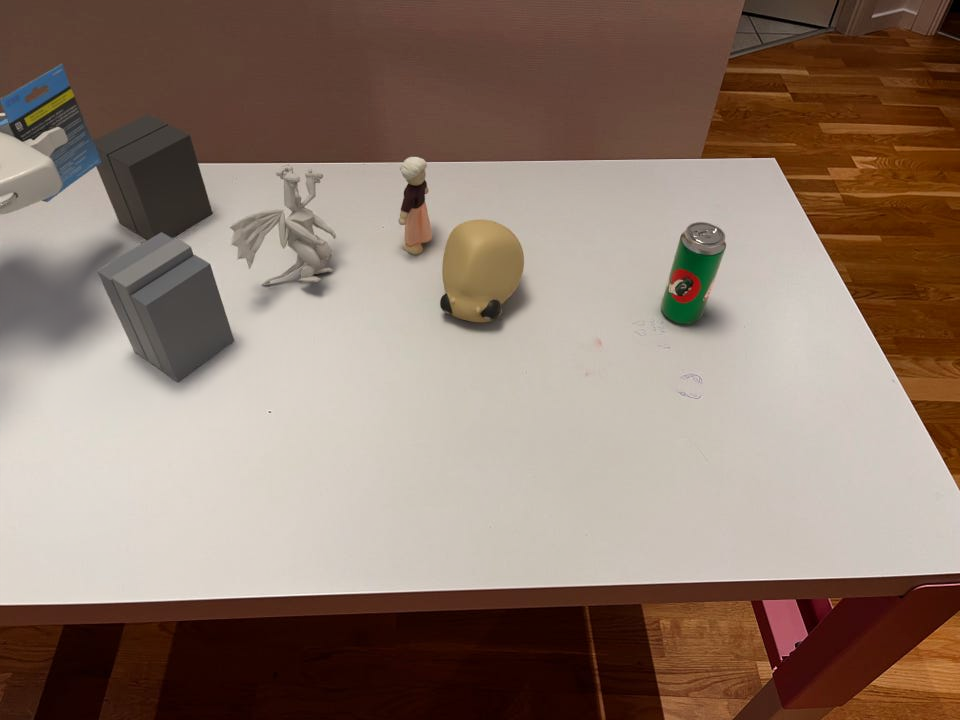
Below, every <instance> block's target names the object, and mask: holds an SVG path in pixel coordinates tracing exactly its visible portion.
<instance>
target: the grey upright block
mask: <svg viewBox="0 0 960 720" xmlns="http://www.w3.org/2000/svg"><path fill="white" fill-rule="evenodd" d="M96 273H97V275H98V276H99V279H100V281H101V283H102V286H103V288H104V290H105V292H106V294H107V296H108V299H109V300H110V302H111V305H112V307H113V309H114V311H115V313H116V315H117V318H118V320H119V323H120V324H121V326H122V329H123V330H124V332H125V335H126V337H127V339H128V342H129V344H130V346H131V348H132V350H133V352H134V353H136V355H139V356H140V357H142V358H143V359H144V360H146V361H147V362H149V363H150V364H152V365H153V366H154V367H156V368H157V369H159V370H160V371H161V372H163V373H164V374H166V375H167V376H169V377H170V378H172V380H174V381H176V382H177V383H179V382H181V380H183V379H185V377H187V376H189V375H190V374H191V373H192V372H194V371H195V370H197V369H198V368H200V367H201V366H202V365H203V364H205V363H206V362H207V361H208V360H210V359H211V358H213V357H214V356H216V355H217V354H218V353H220V352H221V351H222V350H224V349H225V348H226V347H227V346H229V345H230V344H232V343H233V342H234V341H235V338H234V335H233V332H232V329H231V326H230V323H229V319H228V316H227V313H226V310H225V306H224V304H223V300H222V298H221V294H220V291H219V288H218V284H217V281H216V278H215V275H214V271H213V269H212V266H211V263H209V262H208V261H206V260H205V259H203V258H201V257H200V256H198V255H196V254H194V252H193V249H192V246H191V245H189V244H187V243H186V242H184V241H182V240H180V239H179V238H178V237H174V238H171V237H169V236H167V235H166V234H164V233H162V232H161V233H159V234H158V235H156V236H154V237H153V238H151V239H149V240H146V241H144V242H143V243H141V244H139V245H138V246H136V247H134V248H132V249H130V250H128V251H127V252H126V253H124V254H122V255H120V256H119V257H117V258H116V259H113V260H112V261H110V262H109V263H107V264H105V265H104V266H102V267H100V268H98V269H97V270H96Z"/></svg>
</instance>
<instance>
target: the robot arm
mask: <svg viewBox="0 0 960 720" xmlns="http://www.w3.org/2000/svg"><path fill="white" fill-rule="evenodd" d="M5 119H6V116H5V113H4V112H0V122H2V121H3V120H5ZM40 131H41V133H42V134H41V135H40V136H39V137H37V138H36V139H35V140H32V139H28V140H26V141H24V142H22V141H20V140H18V139H17V138H15V137H13V136H11V135H8V134H5V133H2V132H0V216H2V215H6V214H7V215H8V214H10V213H14V212H16V211H20V210H22V209H24V208H25V209H26V208H28V207H29V206H32V205H34V204H37V203H40V202H43V201H42V200H44V199H47V198H49V197H51V196H53V195H55V194H57V193H58V192H59V191H60V189H61V188H62V186H63V182H62V180H61V177H60V175H59V172H58V170H57V168H56V166H55V164H54V162H53V161H52V159H51V158H49V156H50V155H51V154H52V152H53V151H54V150H55V148H57V147H59V146H61V145H63V144H66V143H67V141H68V138H67V136H66V133H65V131H64V130H63V129H62V128H60V127H58V126H56V125H54V124H51V125H49V126H48V127H45V128H42V129H40Z"/></svg>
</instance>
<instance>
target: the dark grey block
mask: <svg viewBox="0 0 960 720" xmlns="http://www.w3.org/2000/svg"><path fill="white" fill-rule="evenodd" d="M92 140H93V142H94V145H95V147H96V150H97V152H98V155H99V157H100V159H101V163H100V164H99V165H97V166H96V167H95V168H96V170H97V172H98V174H99V177H100V179H101V182H102V184H103V186H104V189H105V192H106V194H107V197H108V199H109V201H110V204H111V206H112V209H113V211H114V213H115V215H116V218H117V221H118V223H119V224H121V225H122V226H124V227H125V228H127V229H129V230H131V231H132V232H134V233H136V234H137V235H139V236H141V237H142V238H144V239H145V240H146V241H148V240H149V239H151V238H153V237H154V236H156V235H158V234H159V233H161V232H162V233H164V234H166V235H167V236H169V237H171V238H172V239H174V238H176V236H179V235H181V233H183V232H185V231H186V230H188V229H190V228H191V227H193V226H195V225H196V224H198V223H200V222H201V221H203V220H205V219H206V218H208V217H209V216H211V215H213V214H214V213H213V210H212V206H211V202H210V198H209V196H208V193H207V189H206V185H205V182H204V179H203V175H202V172H201V169H200V165H199V162H198V157H197V155H196V151H195V148H194V144H193V142H192V141H193V140H192V138H191V135H190V134H188V133H187V132H185V131H183V130H181V129H179V128H177V127H175V126H173V125H171V124H169V123H167V122H165V121H163V120H161V119H159V118H157V117H156V116H154V115H151V114H149V113H147V114H145V115H143V116H141V117H139V118H137V119H134V120H132V121H130V122H128V123H126V124H124V125H122V126H120V127H118V128H115V129H114V130H111V131H110V132H107V133H106V134H103V135H101V136H99V137H97V138H95V139H92Z"/></svg>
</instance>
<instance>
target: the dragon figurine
mask: <svg viewBox="0 0 960 720" xmlns="http://www.w3.org/2000/svg"><path fill="white" fill-rule="evenodd" d="M275 175H276V176H277V177H279V178H280V180H283V204H284V207H286V208H287V209H288V210H290V211H291V213H290V214H289V215H288V217H287V218H286V215H285V210H284V209H269V210H263V211H259V212H255V213H252V214H249V215H247V216H245V217H244V216H243V217H242V218H240V219H238V220H237V221H235V222H234V223H233V224H231V225H230V226H229V227H228V229H231V230H232V231H233V235H232V239H231V243H230V246H234V247H236V248H237V258H236V260H237V261H238V260H243V259H246V263H247V267H248V270H250V269H251V267H252V266H253V264H254V261H255V259H256V258H255V257H256V254H257V252H258V250H259V249H260V248H261V246H262V244H263V242H264V240H265V237H266V236H267V235H268V233H269V232H271V230H272V229H274V228H275V226H276V225H277V224H278V235H279V243H280V246H281V248H282V249H283V250H284V249H285V248H286V247H287V246H288V247H289V248H290V249H291V250H292V251H294V252H295V253H296V254H297V256H296V262H295V263H294V264H293V265H292V266H290V267H289V268H288V269H287V270H285V271H284V272H283V273H282V274H280V275H277V276H273V277H271V278H268V279H267V280H266V281H264V282H263V283H262V284H261V286H264V285H268V284H271V281H274V280H275V281H276V280H279V279H281V278H284V277H286V276H288V275H290V274H291V273H293V272H295V271H297V270H298V269H300V268H301V271H300V278H298V279H297V280H296V281H298V282H303V283H314V282H315V283H319V282H321V281H322V279H321V278H320V277H318V276H315V275H319V274H320V275H321V274H325V273H328V272H334V269H333V268H332V267H326V266H325V265H326V263H327V260H328V259H329V258H332V257H333V249H332V246H330V245H329V243H328V242H327V241H326V240H324V239H323V238H321V237H319V236H318V235H316V234H315V231H314V228H313V227H315V228H318V229H320V230H322V231H324V232H325V233H327V234H330V235H331V237H332V238H333V240H336V238H337V235H336V233H335V231H334V230H333V229H332V227H330V226H329V225H328V224H327V223H326V221H324V220H323V219H322V218H320V217H319V216H318V215H317V214H314V212H313V210H311V209H309V208H307V207H306V206H307V205H308V204H309V203H310V202H311V201H312V200H314V199H315V198H316V197H317V194H316V193H317V191H316V190H317V189H316V184H321V180H322V179H323V178H324V174H323V173H320V172H317V171H314V170H313V169H312V168H308V169H307V170H306V171H305V172H304V176H305V186H306V190H307V192H308V195H307V196H306V197H305V199H303V201H302V196H301V195H300V191H299V187H298V186H299V185H298V183H300V181H301V177H300V175H298V174H296V173H295V172H294V167H293V166H292V165H290V164H289V163H285V165H282V166H280V167H279V168H276V170H275Z"/></svg>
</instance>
